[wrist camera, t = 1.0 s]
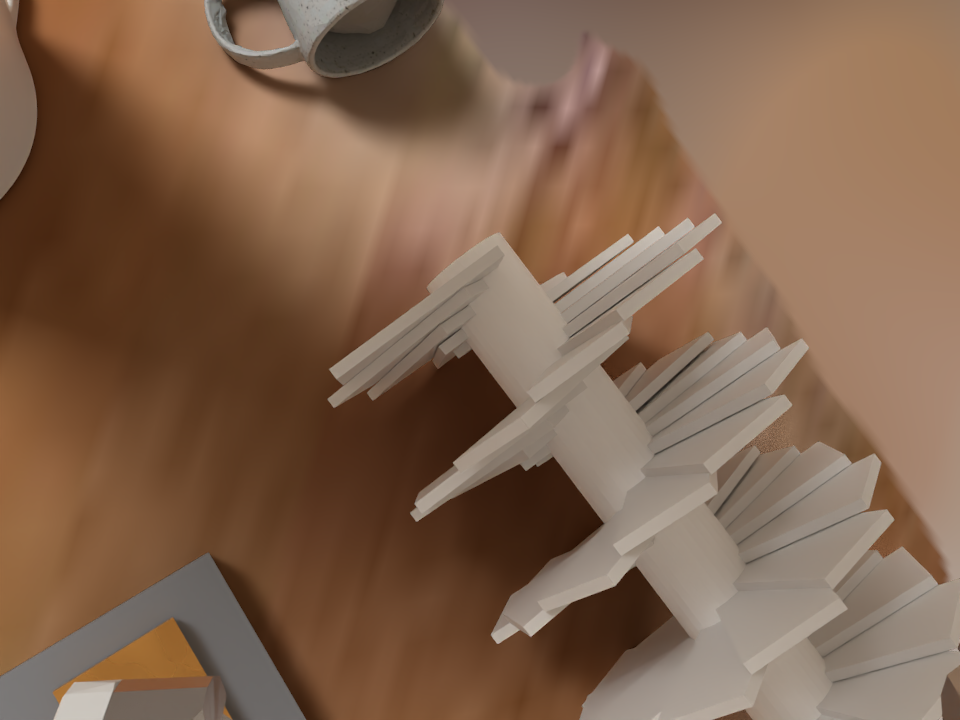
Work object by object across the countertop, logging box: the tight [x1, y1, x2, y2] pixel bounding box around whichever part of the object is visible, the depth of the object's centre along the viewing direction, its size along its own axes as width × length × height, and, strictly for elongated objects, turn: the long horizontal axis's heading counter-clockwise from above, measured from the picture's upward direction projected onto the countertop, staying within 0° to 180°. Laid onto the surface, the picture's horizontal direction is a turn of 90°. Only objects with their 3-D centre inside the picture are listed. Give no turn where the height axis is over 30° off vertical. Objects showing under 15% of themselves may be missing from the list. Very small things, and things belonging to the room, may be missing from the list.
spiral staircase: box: [327, 213, 960, 720], centre depth 39 cm, size 18×18×25 cm
